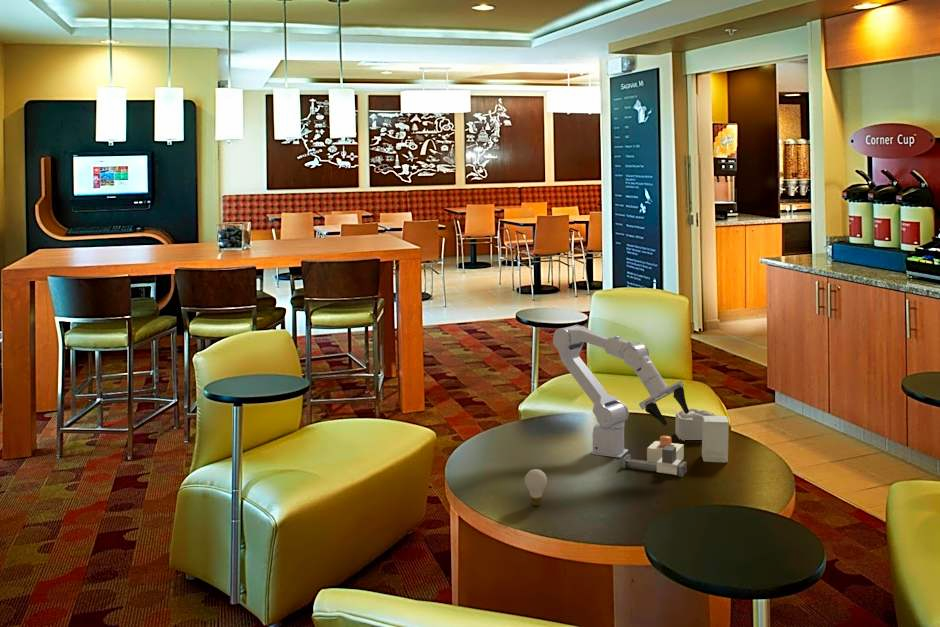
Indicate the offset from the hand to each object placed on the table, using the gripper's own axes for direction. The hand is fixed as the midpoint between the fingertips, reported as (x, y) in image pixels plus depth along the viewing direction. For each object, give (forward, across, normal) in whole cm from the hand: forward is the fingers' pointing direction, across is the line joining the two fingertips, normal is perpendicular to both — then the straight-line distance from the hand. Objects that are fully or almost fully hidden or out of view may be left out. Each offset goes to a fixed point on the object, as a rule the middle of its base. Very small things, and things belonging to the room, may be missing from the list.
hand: (676, 418), depth 257 cm
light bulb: (+4, -51, -16) cm, 54 cm away
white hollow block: (+8, -6, +14) cm, 17 cm away
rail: (+9, -12, +7) cm, 17 cm away
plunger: (+6, -5, +13) cm, 15 cm away
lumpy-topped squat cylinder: (+4, +14, +35) cm, 38 cm away
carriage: (+12, -9, +5) cm, 16 cm away
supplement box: (+15, +8, +15) cm, 22 cm away
